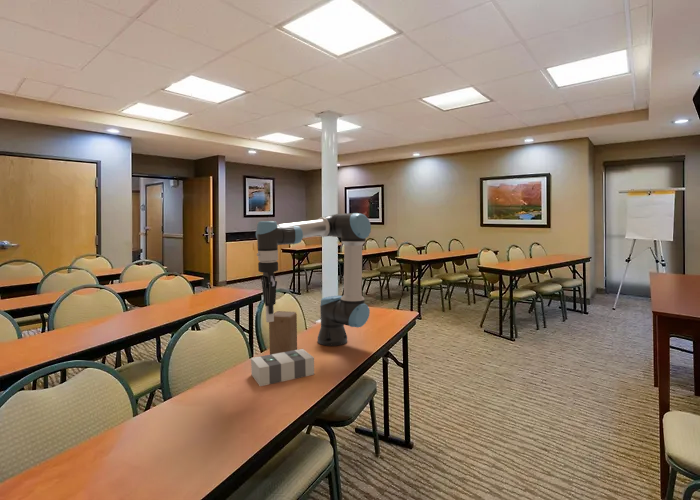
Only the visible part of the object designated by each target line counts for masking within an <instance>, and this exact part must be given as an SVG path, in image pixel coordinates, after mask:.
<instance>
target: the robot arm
mask: <svg viewBox="0 0 700 500" xmlns="http://www.w3.org/2000/svg"><path fill="white" fill-rule="evenodd" d="M256 224H257V225H256V230H255V238H256V240H257V253H256V256H257V260H258V263H257V267H258V268H257V269H258V272H259V273H262V276H261V277H260V280H261V281H260V282H261V289H262V298H263V302H264V304H265V305H264V306H265V322H266V323H269V322H273V321H274V313H275V312H274V310H275V309H274V305H276V303H277V302H276V299H277V285H278V281H277V280H276V277H275V272H278V271H279V262H278V260H279V247H278V246H281V245H295V244H299V243H300V244H301V242H302V240H303V239H305V238H306V239H307V238H310V237H311V238H313V237H318V236H319V237H323V238H324V237H333V238H340V241H341V243H342V244H343V248H344V249H343V254H344V255H343V256H344V257H343V259H344V260H343V263H344V264H343V295H331V296H325V297H322V298H321V299H320V305H319V307H320V329H319V330H318V331H319V332H318V335H317V343H318V344H319V345H322V346H327V347H328V346H329V347H330V346H331V347H337V346H343V345H346V343H348V334H347V332H346V329H345V326H348V327H351V328H361V327H363V326H364V325H365V324H366V323H367V322H368V320H369V318H370V313H371V312H370V311H371V310H370V307H369V306H368V304H366V302H365V297H364V296H363V295H362V292H363V290H362V289H363V288H362V287H363V285H362V283H363V280H362V279H363V276H362V275H363V273H362V272H363V245H364V244H365V243H366V239H367V238H368V237H369V236H370V234H371V232H372V231H371V230H372V226H371V221H370V219H369V218H368V217H367V215H365V214H363V213H360V212H359V213H358V212H353V213H335V214H331V215H327V216H321V217H319V218H317V219H312V220H303V221H294V222H287V223H286V222H285V223H277V221H276V220H274V221H273V220H270V221H267V220H266V221H263V220H261V221H258V222H257V223H256Z"/></svg>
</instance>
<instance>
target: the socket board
mask: <svg viewBox="0 0 700 500" xmlns="http://www.w3.org/2000/svg"><path fill="white" fill-rule="evenodd" d="M291 353H298V354H299V357H295V358H290V357H289V355H290V354H291ZM269 357H274V358H275V359H276V361H274V362H269V363H266V362H265V359H266V358H269ZM250 361H251V362H250V363H251V364H250V365H251V369H250V370H251V377H252V378H254V379H253V380H255V382H256V383H257V384H258V387H263V386H264V387H265V386H268V385H272V384H277V383H281V382H286V381H290V380H295V379H299V378H305V377H309V376H314V375H315V357H314V356H313V355H311V354H310V353H309V352H308V351H306V350H305V349H304V348H301V349H297V350H293V351H287V352H282V353H276V354H271V355H270V354H265V355H260V356H255V357H251V359H250Z"/></svg>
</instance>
